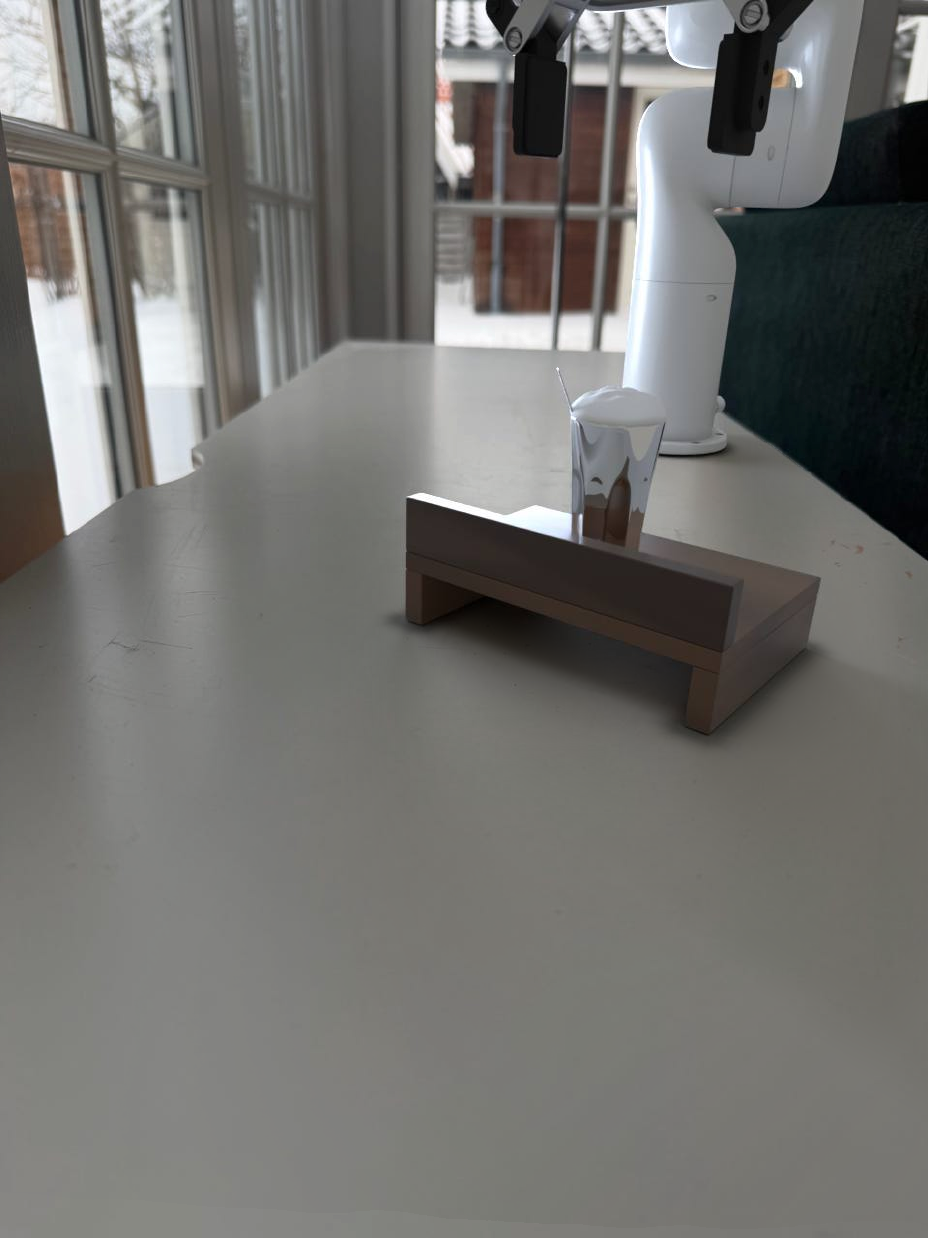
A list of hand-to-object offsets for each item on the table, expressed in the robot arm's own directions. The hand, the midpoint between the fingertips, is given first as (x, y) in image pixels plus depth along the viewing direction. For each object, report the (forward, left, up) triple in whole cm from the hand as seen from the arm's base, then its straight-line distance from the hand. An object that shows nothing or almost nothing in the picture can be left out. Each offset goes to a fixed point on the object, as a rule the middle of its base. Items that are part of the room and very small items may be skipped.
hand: (627, 155), depth 39 cm
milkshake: (+2, +1, -19) cm, 19 cm away
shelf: (0, +1, -23) cm, 23 cm away
